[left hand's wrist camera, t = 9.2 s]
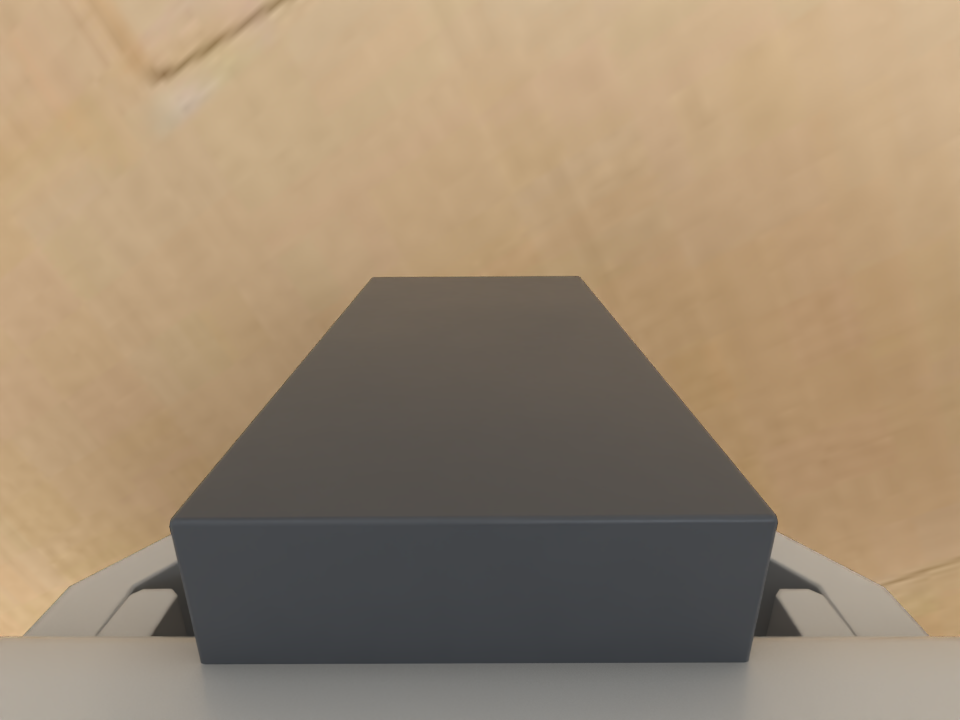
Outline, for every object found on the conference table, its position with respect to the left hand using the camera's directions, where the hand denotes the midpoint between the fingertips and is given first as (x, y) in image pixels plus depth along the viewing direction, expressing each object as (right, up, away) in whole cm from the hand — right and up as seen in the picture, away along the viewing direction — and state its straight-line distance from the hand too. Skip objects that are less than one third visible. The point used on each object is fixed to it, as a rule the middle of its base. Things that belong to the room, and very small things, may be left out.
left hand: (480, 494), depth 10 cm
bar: (0, -8, +7) cm, 11 cm away
